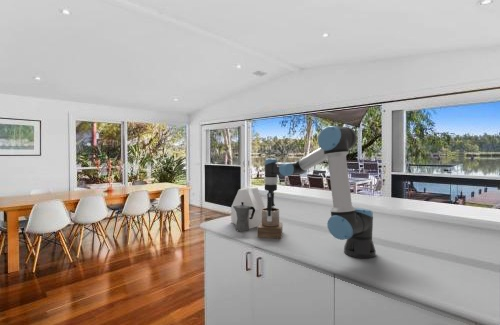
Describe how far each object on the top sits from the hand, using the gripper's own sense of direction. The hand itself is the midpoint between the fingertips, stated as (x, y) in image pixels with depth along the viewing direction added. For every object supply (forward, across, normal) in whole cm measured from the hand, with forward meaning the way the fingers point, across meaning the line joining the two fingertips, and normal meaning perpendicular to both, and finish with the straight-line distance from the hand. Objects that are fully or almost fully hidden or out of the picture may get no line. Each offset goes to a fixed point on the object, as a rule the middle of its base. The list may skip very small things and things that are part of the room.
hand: (270, 218), depth 183 cm
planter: (+4, 0, 0) cm, 4 cm away
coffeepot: (+10, -8, -18) cm, 22 cm away
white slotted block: (+10, -23, -18) cm, 31 cm away
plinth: (+10, 0, 0) cm, 10 cm away
